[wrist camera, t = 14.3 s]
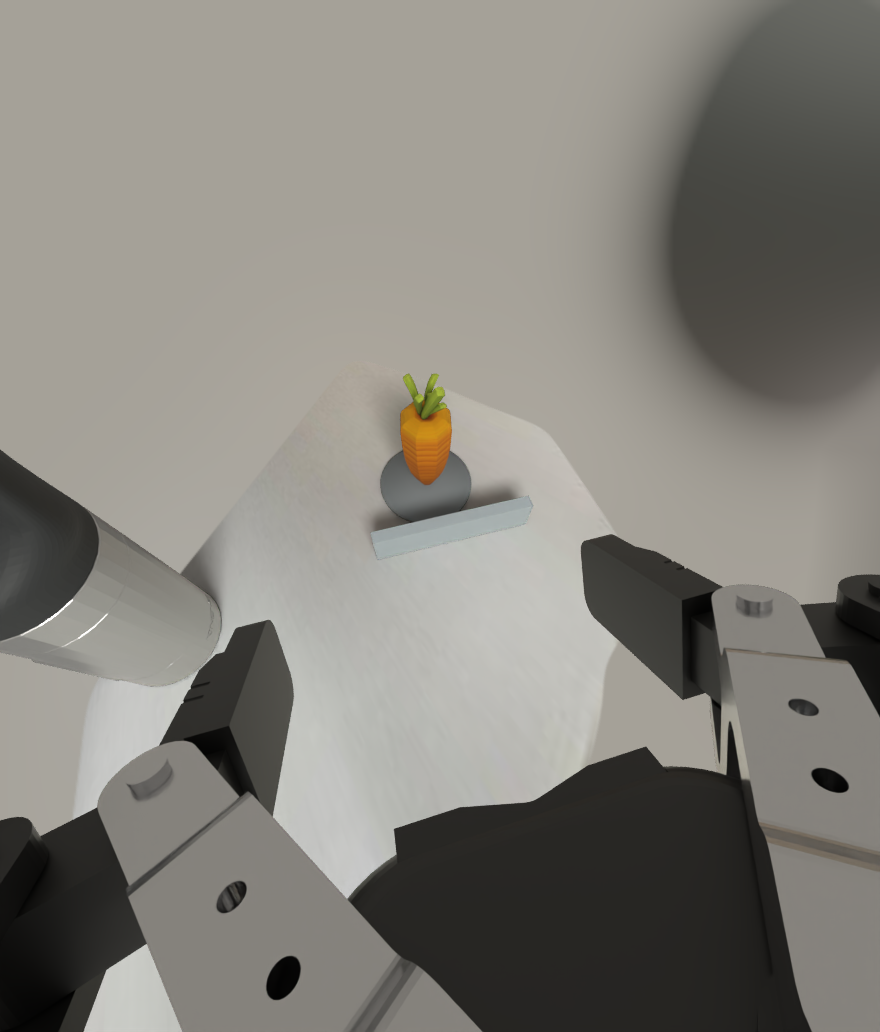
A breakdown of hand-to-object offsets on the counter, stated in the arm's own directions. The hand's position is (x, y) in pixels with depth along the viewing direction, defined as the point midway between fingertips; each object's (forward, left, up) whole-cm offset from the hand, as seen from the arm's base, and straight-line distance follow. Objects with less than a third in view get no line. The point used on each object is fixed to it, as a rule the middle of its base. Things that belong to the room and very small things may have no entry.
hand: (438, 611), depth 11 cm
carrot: (+5, +22, -30) cm, 38 cm away
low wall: (+6, +16, -31) cm, 35 cm away
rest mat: (+5, +23, -31) cm, 38 cm away
